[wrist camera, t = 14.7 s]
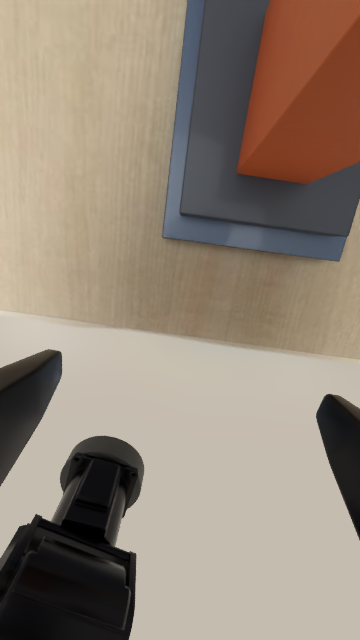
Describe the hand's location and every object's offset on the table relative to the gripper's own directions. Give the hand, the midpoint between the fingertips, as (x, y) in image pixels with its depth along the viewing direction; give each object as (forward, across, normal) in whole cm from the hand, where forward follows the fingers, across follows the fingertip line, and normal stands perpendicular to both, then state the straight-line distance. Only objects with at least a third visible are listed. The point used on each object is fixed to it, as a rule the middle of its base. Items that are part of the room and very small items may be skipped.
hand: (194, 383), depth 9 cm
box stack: (+14, -3, -10) cm, 18 cm away
